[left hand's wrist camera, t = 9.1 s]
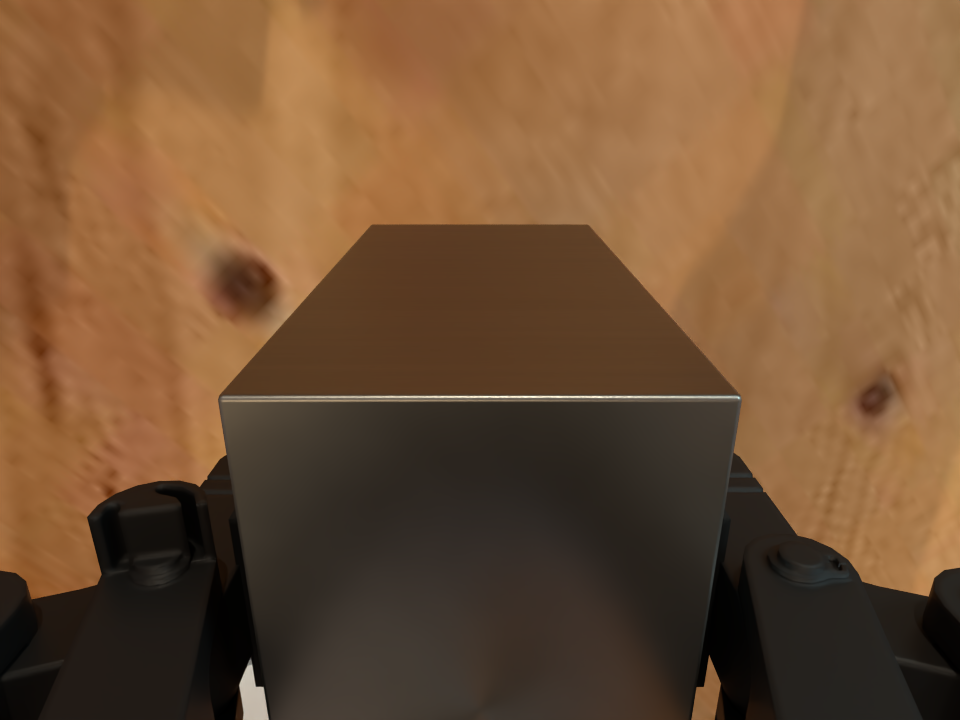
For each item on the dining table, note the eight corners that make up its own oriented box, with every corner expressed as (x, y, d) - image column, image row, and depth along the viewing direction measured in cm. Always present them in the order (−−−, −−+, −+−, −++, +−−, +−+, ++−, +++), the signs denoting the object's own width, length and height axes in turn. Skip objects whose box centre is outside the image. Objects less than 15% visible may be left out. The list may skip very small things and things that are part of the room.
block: (571, 520, 17) (661, 924, 8) (387, 520, 17) (299, 924, 8) (589, 224, 14) (744, 395, 6) (370, 223, 14) (216, 396, 6)
